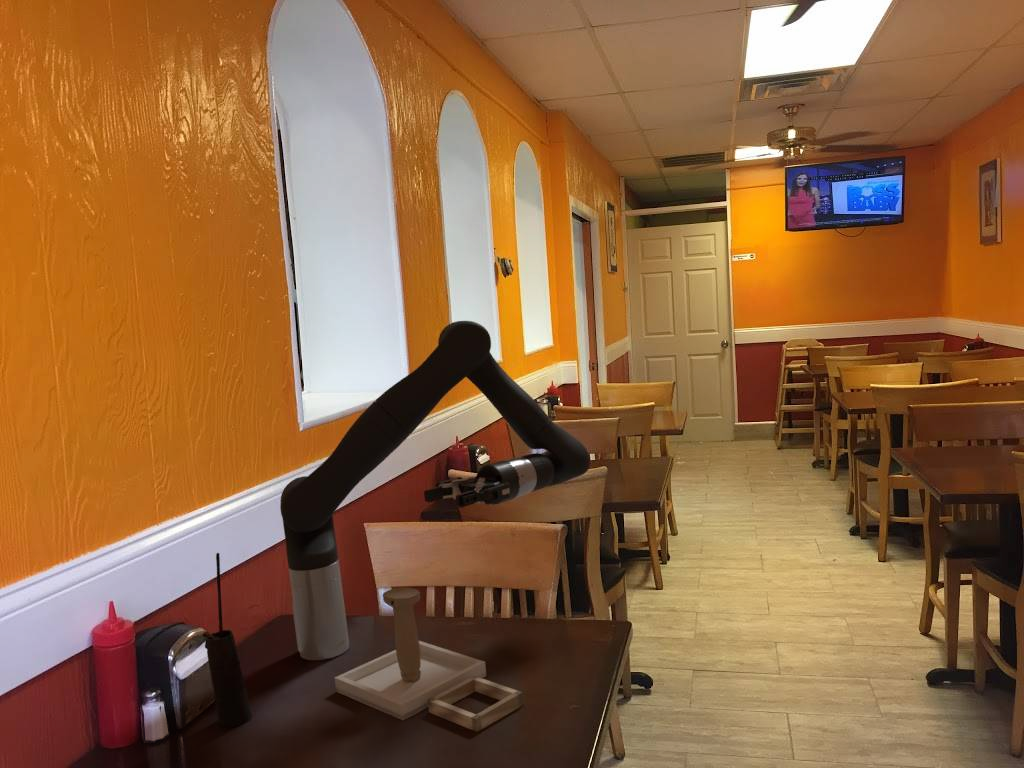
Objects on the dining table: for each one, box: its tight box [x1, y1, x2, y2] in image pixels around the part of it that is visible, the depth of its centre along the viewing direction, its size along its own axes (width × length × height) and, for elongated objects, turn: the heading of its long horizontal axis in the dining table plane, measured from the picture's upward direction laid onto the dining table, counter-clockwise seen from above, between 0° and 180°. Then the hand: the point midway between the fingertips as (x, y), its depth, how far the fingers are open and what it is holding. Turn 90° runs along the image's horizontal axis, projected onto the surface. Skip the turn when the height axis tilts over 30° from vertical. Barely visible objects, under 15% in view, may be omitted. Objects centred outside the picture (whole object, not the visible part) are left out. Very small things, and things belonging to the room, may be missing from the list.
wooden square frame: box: [427, 676, 525, 733], centre depth 134 cm, size 11×10×2 cm
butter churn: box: [202, 552, 253, 729], centre depth 138 cm, size 9×10×28 cm
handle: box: [382, 587, 421, 682], centre depth 145 cm, size 5×6×15 cm
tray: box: [334, 640, 487, 721], centre depth 146 cm, size 18×18×2 cm
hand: (441, 499), depth 150 cm, fingers open, 8 cm apart
